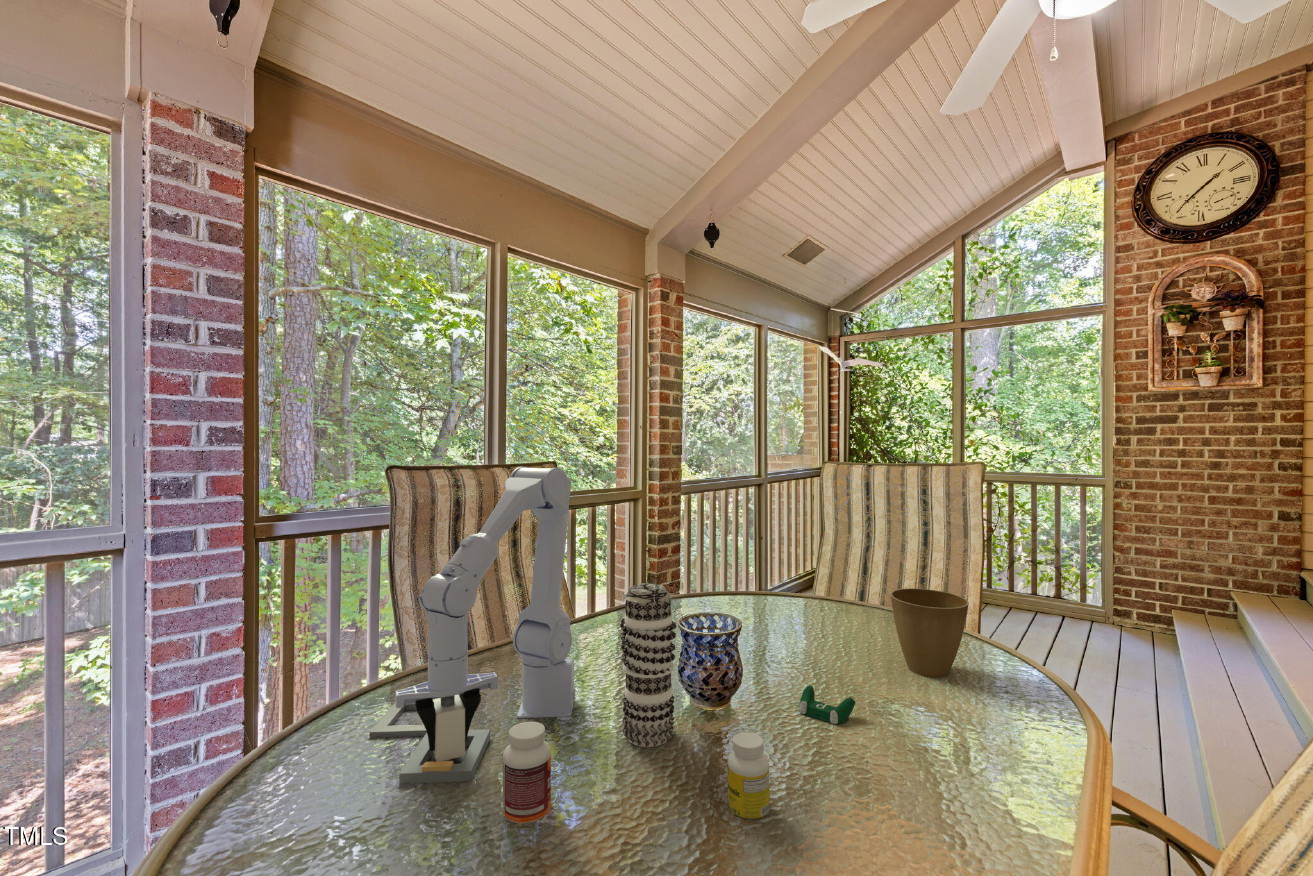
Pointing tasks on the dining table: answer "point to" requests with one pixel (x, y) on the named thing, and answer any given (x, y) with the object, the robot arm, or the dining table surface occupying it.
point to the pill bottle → (526, 774)
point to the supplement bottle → (748, 777)
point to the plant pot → (929, 628)
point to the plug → (449, 728)
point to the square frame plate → (387, 730)
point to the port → (445, 762)
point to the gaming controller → (824, 708)
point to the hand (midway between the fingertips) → (447, 743)
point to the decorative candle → (648, 665)
